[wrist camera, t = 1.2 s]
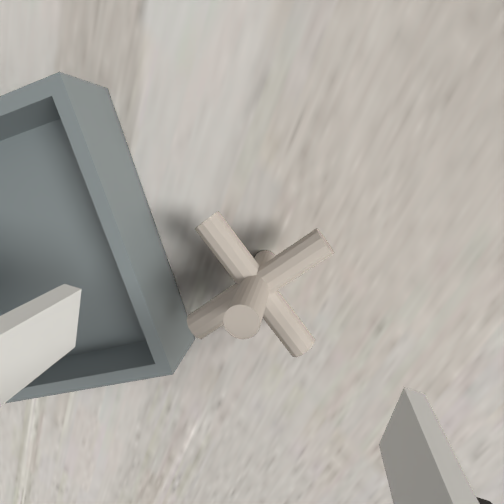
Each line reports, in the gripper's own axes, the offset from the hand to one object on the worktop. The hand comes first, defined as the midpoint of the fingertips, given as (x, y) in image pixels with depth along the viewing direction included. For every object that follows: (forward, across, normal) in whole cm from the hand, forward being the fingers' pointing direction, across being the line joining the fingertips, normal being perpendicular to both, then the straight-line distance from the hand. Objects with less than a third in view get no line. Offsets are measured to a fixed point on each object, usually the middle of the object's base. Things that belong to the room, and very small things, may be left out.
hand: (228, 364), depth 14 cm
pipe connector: (+13, 0, 0) cm, 13 cm away
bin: (+13, -17, -3) cm, 21 cm away
